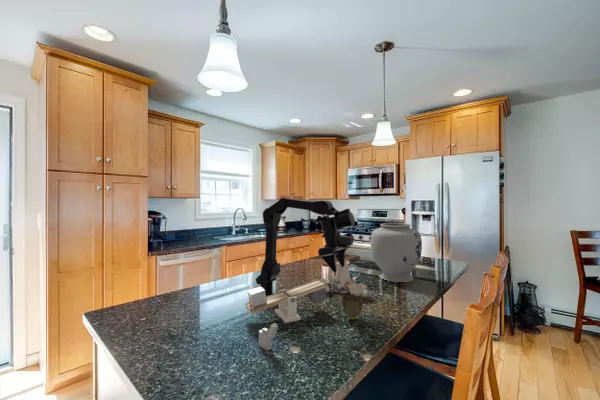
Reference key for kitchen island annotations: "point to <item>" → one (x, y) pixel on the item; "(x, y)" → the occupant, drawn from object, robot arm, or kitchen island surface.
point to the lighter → (267, 336)
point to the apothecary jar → (396, 251)
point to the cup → (352, 305)
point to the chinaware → (344, 281)
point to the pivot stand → (288, 309)
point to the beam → (311, 288)
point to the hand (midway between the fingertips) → (339, 269)
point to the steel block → (257, 297)
